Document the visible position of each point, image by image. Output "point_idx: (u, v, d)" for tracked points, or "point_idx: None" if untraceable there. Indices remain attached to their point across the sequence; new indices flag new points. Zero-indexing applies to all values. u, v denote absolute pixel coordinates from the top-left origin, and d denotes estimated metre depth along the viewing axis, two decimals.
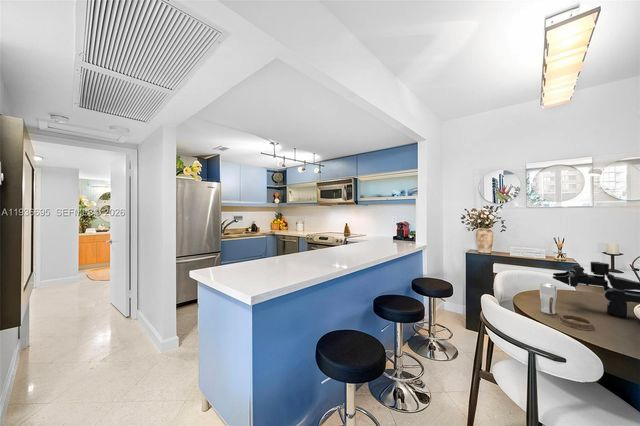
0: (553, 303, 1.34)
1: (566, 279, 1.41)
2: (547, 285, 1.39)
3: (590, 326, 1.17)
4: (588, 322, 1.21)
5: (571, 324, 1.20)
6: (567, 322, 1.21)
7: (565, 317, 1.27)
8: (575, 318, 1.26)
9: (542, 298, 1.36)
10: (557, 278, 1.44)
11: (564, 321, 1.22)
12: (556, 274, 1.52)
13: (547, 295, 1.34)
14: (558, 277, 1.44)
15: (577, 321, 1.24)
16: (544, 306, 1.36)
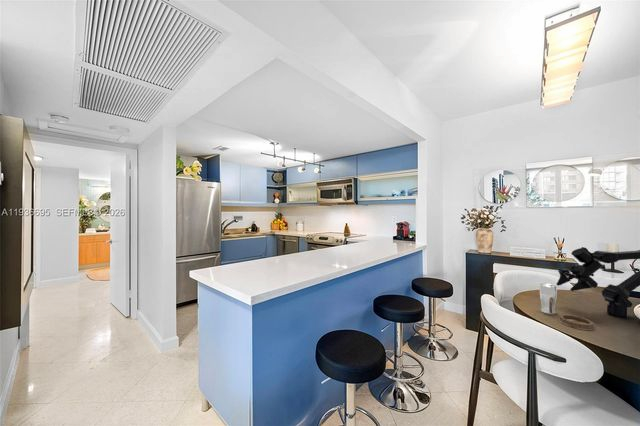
0: (553, 303, 1.34)
1: (582, 284, 1.29)
2: (547, 285, 1.39)
3: (590, 326, 1.17)
4: (588, 322, 1.21)
5: (571, 324, 1.20)
6: (567, 322, 1.21)
7: (565, 317, 1.27)
8: (575, 318, 1.26)
9: (542, 298, 1.36)
10: (575, 288, 1.30)
11: (564, 321, 1.22)
12: (559, 283, 1.40)
13: (547, 295, 1.34)
14: (575, 287, 1.30)
15: (577, 321, 1.24)
16: (544, 306, 1.36)
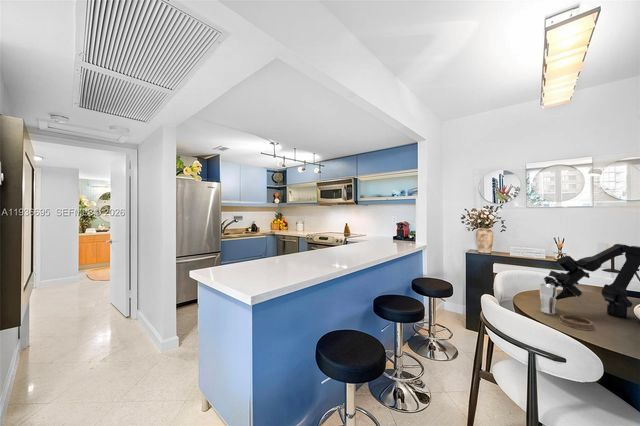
0: (553, 303, 1.34)
1: (567, 292, 1.30)
2: (547, 285, 1.39)
3: (590, 326, 1.17)
4: (588, 322, 1.21)
5: (571, 324, 1.20)
6: (567, 322, 1.21)
7: (565, 317, 1.27)
8: (575, 318, 1.26)
9: (542, 298, 1.36)
10: (560, 297, 1.31)
11: (564, 321, 1.22)
12: None
13: (547, 295, 1.34)
14: (560, 295, 1.31)
15: (577, 321, 1.24)
16: (544, 306, 1.36)
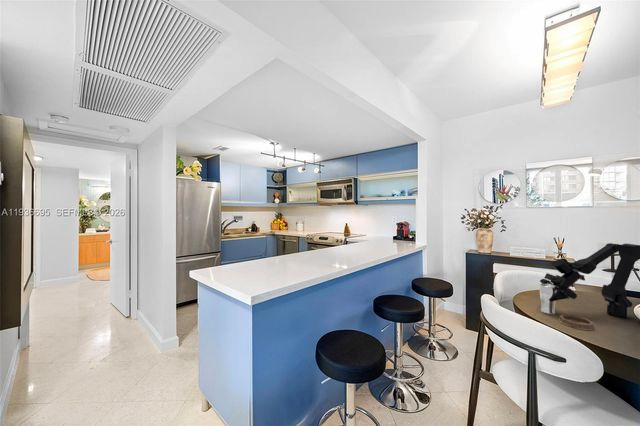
0: (553, 303, 1.34)
1: (560, 294, 1.31)
2: (547, 285, 1.39)
3: (590, 326, 1.17)
4: (588, 322, 1.21)
5: (571, 324, 1.20)
6: (567, 322, 1.21)
7: (565, 317, 1.27)
8: (575, 318, 1.26)
9: (542, 298, 1.36)
10: (554, 299, 1.32)
11: (564, 321, 1.22)
12: None
13: (547, 295, 1.34)
14: (554, 297, 1.32)
15: (577, 321, 1.24)
16: (544, 306, 1.36)
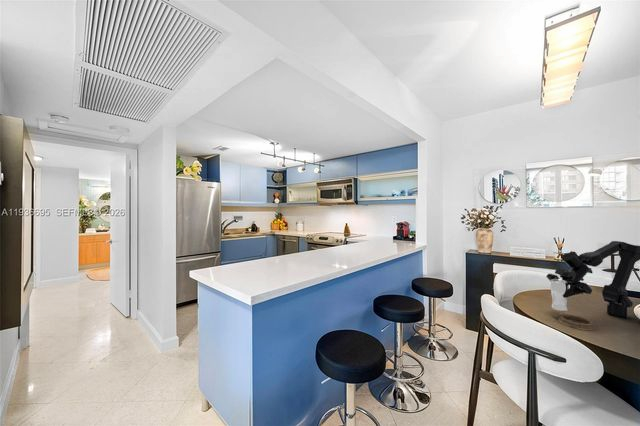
0: (566, 299, 1.27)
1: (574, 289, 1.25)
2: (557, 280, 1.32)
3: (590, 326, 1.17)
4: (588, 322, 1.21)
5: (571, 324, 1.20)
6: (567, 322, 1.21)
7: (565, 317, 1.27)
8: (575, 318, 1.26)
9: (555, 294, 1.29)
10: (568, 295, 1.25)
11: (564, 321, 1.22)
12: None
13: (561, 291, 1.27)
14: (568, 293, 1.25)
15: (577, 321, 1.24)
16: (557, 303, 1.29)
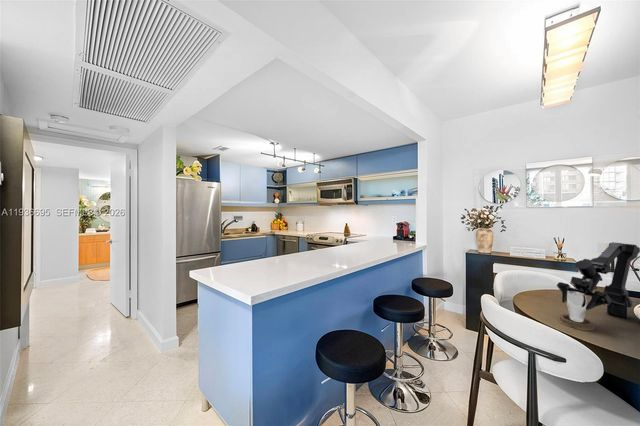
0: (584, 313, 1.20)
1: (595, 300, 1.17)
2: (572, 292, 1.25)
3: (590, 326, 1.17)
4: (588, 322, 1.21)
5: (571, 324, 1.20)
6: (567, 322, 1.21)
7: (565, 317, 1.27)
8: None
9: (573, 308, 1.21)
10: (591, 306, 1.17)
11: (564, 321, 1.22)
12: (564, 300, 1.26)
13: (580, 304, 1.19)
14: (591, 305, 1.17)
15: None
16: (575, 317, 1.21)
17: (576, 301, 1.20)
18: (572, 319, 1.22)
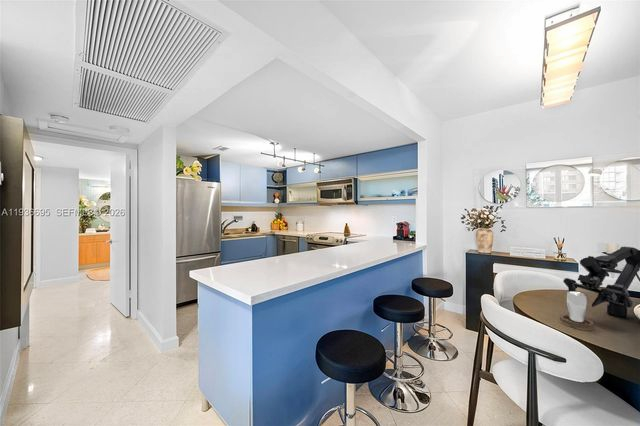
0: (584, 313, 1.20)
1: None
2: (572, 292, 1.25)
3: (590, 326, 1.17)
4: (588, 322, 1.21)
5: (571, 324, 1.20)
6: (567, 322, 1.21)
7: (565, 317, 1.27)
8: None
9: (573, 308, 1.21)
10: (596, 303, 1.21)
11: (564, 321, 1.22)
12: None
13: (580, 305, 1.19)
14: (597, 302, 1.21)
15: None
16: (575, 318, 1.21)
17: (576, 301, 1.20)
18: (572, 319, 1.22)
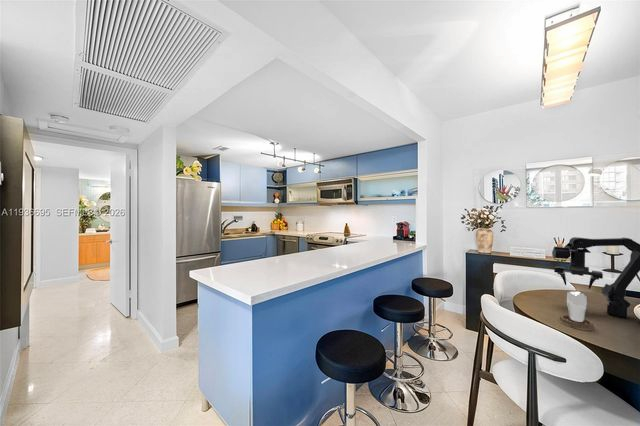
0: (584, 313, 1.20)
1: None
2: (572, 292, 1.25)
3: (590, 326, 1.17)
4: (588, 322, 1.21)
5: (571, 324, 1.20)
6: (567, 322, 1.21)
7: (565, 317, 1.27)
8: None
9: (573, 308, 1.21)
10: (591, 285, 1.35)
11: (564, 321, 1.22)
12: None
13: (580, 305, 1.19)
14: (591, 284, 1.35)
15: None
16: (575, 318, 1.21)
17: (576, 301, 1.20)
18: (572, 319, 1.22)
